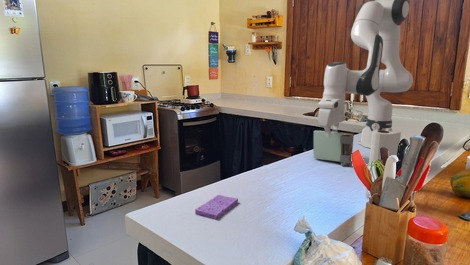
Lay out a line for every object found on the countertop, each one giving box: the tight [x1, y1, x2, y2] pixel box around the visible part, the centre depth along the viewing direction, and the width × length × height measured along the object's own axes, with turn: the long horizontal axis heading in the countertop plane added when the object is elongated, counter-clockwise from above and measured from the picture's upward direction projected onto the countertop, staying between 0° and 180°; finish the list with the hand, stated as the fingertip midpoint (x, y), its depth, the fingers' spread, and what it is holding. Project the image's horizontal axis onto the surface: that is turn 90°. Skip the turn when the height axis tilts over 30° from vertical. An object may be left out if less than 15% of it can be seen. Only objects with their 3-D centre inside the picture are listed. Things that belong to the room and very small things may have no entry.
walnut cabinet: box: [330, 130, 355, 168], centre depth 137 cm, size 14×16×13 cm
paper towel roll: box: [365, 130, 402, 199], centre depth 96 cm, size 7×6×21 cm
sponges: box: [194, 194, 239, 220], centre depth 91 cm, size 7×13×2 cm, turn 152°
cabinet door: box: [313, 130, 354, 164], centre depth 133 cm, size 4×16×12 cm, turn 52°
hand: (331, 134), depth 132 cm, fingers open, 6 cm apart
